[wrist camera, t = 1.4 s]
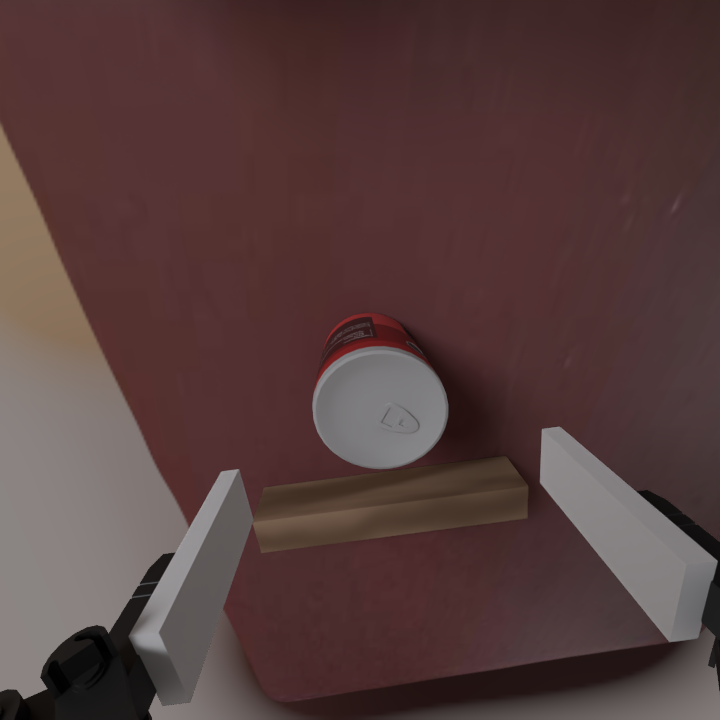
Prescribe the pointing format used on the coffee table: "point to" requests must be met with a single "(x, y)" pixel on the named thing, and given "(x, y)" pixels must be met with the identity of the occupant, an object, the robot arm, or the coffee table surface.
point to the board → (390, 504)
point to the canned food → (377, 394)
